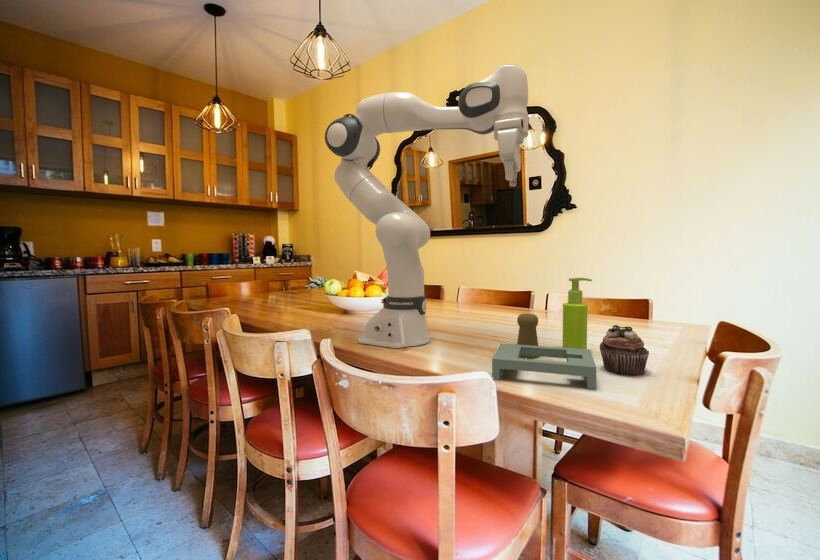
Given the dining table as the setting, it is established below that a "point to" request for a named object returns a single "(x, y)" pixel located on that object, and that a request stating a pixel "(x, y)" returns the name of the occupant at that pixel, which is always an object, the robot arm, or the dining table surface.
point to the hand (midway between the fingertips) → (511, 183)
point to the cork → (527, 332)
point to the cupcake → (623, 352)
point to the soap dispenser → (575, 318)
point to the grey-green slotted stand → (545, 361)
